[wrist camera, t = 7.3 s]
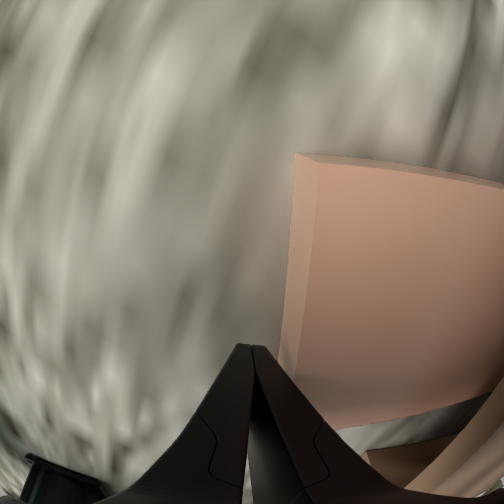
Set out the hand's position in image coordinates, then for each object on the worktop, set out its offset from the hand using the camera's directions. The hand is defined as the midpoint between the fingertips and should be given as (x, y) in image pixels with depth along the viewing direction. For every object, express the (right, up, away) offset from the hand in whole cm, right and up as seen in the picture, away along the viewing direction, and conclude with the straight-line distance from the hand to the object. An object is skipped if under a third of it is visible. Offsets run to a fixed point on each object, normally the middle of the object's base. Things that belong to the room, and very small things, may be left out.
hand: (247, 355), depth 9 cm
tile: (+9, +2, +1) cm, 9 cm away
